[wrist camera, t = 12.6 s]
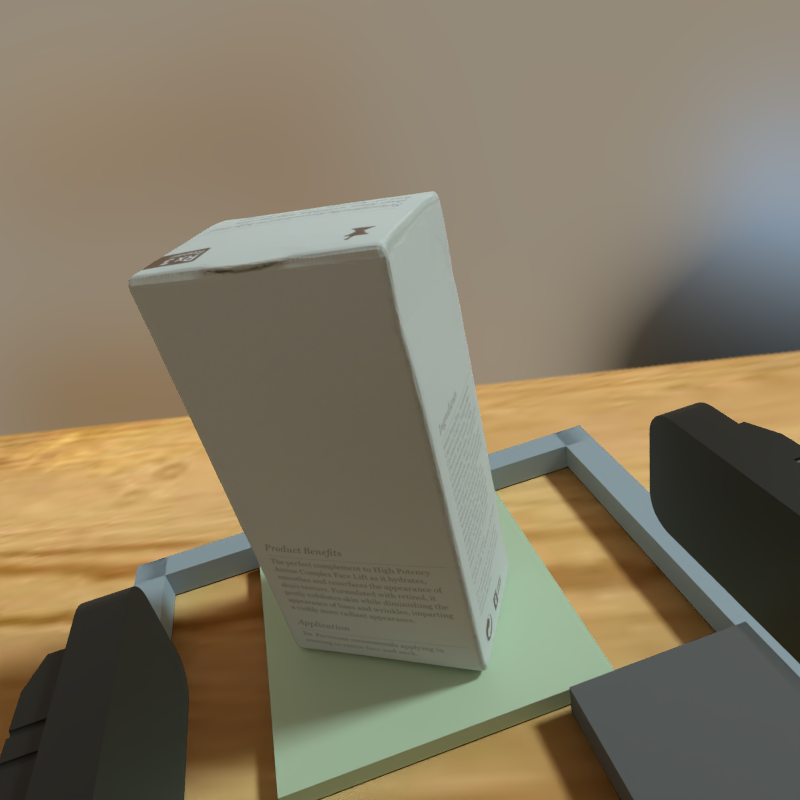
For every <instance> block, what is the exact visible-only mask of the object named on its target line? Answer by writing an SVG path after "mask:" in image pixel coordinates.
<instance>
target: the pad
mask: <svg viewBox="0 0 800 800" xmlns="http://www.w3.org/2000/svg"><path fill="white" fill-rule="evenodd" d="M495 495H496V502H497V506H498V512H499V518H500V524H501V529H502V534H503V539H504V544H505V548H506V552H507V558H508V562H509V567H508V573H507V577H506V583H505V588H504V593H503V598H502V603H501V607H500V612H499V617H498V622H497V627H496V631H495V635H494V640H493V645H492V650H491V655H490V660H489V664H488V667H487V669H486V670H484V671H478V670H470V669H463V668H455V667H447V666H439V665H432V664H425V663H417V662H410V661H403V660H395V659H388V658H380V657H373V656H365V655H357V654H350V653H342V652H334V651H326V650H318V649H310V648H303V647H300V646H298V645H297V644H296V642H295V640H294V638H293V635H292V633H291V631H290V629H289V627H288V625H287V623H286V620H285V618H284V616H283V614H282V612H281V610H280V607H279V605H278V603H277V601H276V599H275V597H274V594H273V592H272V590H271V588H270V586H269V584H268V582H267V579H266V577H265V575H264V573H263V571H262V569H261V567H260V575H261V588H262V601H263V614H264V627H265V640H266V653H267V666H268V678H269V691H270V704H271V717H272V730H273V743H274V756H275V769H276V781H277V794H278V800H318V799H320V798H323V797H326V796H328V795H331V794H334V793H336V792H339V791H342V790H344V789H347V788H349V787H352V786H355V785H357V784H360V783H363V782H365V781H368V780H371V779H373V778H376V777H379V776H381V775H384V774H387V773H389V772H392V771H394V770H397V769H400V768H402V767H405V766H408V765H410V764H413V763H416V762H418V761H421V760H424V759H426V758H429V757H432V756H434V755H437V754H439V753H442V752H445V751H447V750H450V749H453V748H455V747H458V746H461V745H463V744H466V743H469V742H471V741H474V740H477V739H479V738H482V737H484V736H487V735H490V734H492V733H495V732H498V731H500V730H503V729H506V728H508V727H511V726H514V725H516V724H519V723H522V722H524V721H527V720H529V719H532V718H535V717H537V716H540V715H543V714H545V713H548V712H551V711H553V710H556V709H559V708H561V707H564V706H566V705H569V704H571V698H570V689H569V687H571V686H574V685H577V684H579V683H582V682H585V681H587V680H590V679H593V678H595V677H598V676H601V675H603V674H606V673H609V672H611V671H614V668H613V667H612V665H611V664H610V662H609V661H608V659H607V658H606V656H605V655H604V653H603V652H602V650H601V649H600V647H599V646H598V644H597V643H596V641H595V640H594V638H593V637H592V635H591V634H590V632H589V631H588V629H587V628H586V626H585V625H584V623H583V622H582V620H581V619H580V617H579V616H578V614H577V613H576V611H575V610H574V608H573V607H572V605H571V604H570V602H569V601H568V599H567V598H566V596H565V595H564V593H563V592H562V590H561V589H560V587H559V586H558V584H557V583H556V581H555V580H554V578H553V577H552V575H551V574H550V572H549V571H548V569H547V568H546V566H545V565H544V563H543V562H542V560H541V559H540V557H539V556H538V554H537V553H536V551H535V550H534V548H533V547H532V545H531V544H530V542H529V541H528V539H527V538H526V536H525V535H524V533H523V532H522V530H521V529H520V527H519V526H518V524H517V523H516V521H515V520H514V518H513V517H512V515H511V514H510V512H509V511H508V509H507V508H506V506H505V505H504V503H503V502H502V500H501V499H500V497H499V496H498V494H497V493H496V491H495Z"/></svg>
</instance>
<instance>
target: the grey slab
mask: <svg viewBox="0 0 800 800" xmlns="http://www.w3.org/2000/svg"><path fill="white" fill-rule="evenodd" d="M742 624H743V625H742ZM747 624H748V623H747V622H746V623H745V622H742V623H740V624H737V625H734V626H732V627H729V628H726V629H724V630H721V631H718V632H716V633H713V634H710V635H708V636H705V637H702V638H700V639H697V640H694V641H692V642H689V643H686V644H684V645H681V646H678V647H676V648H673V649H670V650H668V651H665V652H662V653H660V654H657V655H654V656H652V657H649V658H646V659H644V660H641V661H638V662H635V663H633V664H630V665H627V666H625V667H622V668H619V669H617V670H614V671H611V672H609V673H606V674H603V675H601V676H598V677H595V678H593V679H590V680H587V681H585V682H582V683H579V684H577V685H574V686H571V687H569V689H570V698H571V708H572V713H573V715H574V716H575V718H576V720H577V722H578V724H579V725H580V727H581V729H582V731H583V733H584V734H585V736H586V738H587V740H588V742H589V743H590V745H591V747H592V749H593V751H594V752H595V754H596V756H597V758H598V760H599V762H600V763H601V765H602V767H603V769H604V771H605V772H606V774H607V776H608V778H609V780H610V781H611V783H612V785H613V787H614V789H615V790H616V792H617V794H618V796H619V798H620V799H621V800H800V677H799V676H798V675H797V674H796V673H795V672H794V671H793V670H792V669H791V668H790V667H789V666H788V665H787V664H786V663H785V662H784V660H783V659H782V658H781V657H780V656H779V655H778V654H777V653H776V652H775V651H773V649H772V648H771V647H770V646H769V645H768V644H767V643H766V642H765V641H764V640H763V639H762V638H761V637H760V636H759V635H758V634H757V633H756V632H755V631H754V630H753V629H752V627H751V626H750V625H747ZM744 627H745V628H744ZM742 632H743V633H742ZM749 636H750V637H749ZM747 637H748V638H747ZM751 637H752V639H751ZM756 638H757V639H756ZM758 639H759V640H758ZM755 644H756V645H755ZM761 645H762V646H761ZM763 646H764V647H763ZM779 657H780V658H779ZM783 662H784V663H783ZM777 665H778V666H777ZM787 667H788V668H787ZM790 670H791V671H790ZM782 672H783V673H782ZM792 673H793V674H792ZM797 678H798V679H797ZM793 680H794V681H793ZM798 683H799V684H798Z"/></svg>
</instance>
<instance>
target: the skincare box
mask: <svg viewBox="0 0 800 800" xmlns="http://www.w3.org/2000/svg"><path fill="white" fill-rule="evenodd" d="M129 289H130V292H131V294H132V296H133V298H134V300H135V302H136V304H137V306H138V308H139V311H140V313H141V314H142V317H143V319H144V321H145V323H146V325H147V327H148V329H149V331H150V333H151V335H152V337H153V339H154V342H155V344H156V346H157V348H158V350H159V352H160V355H161V357H162V359H163V361H164V363H165V365H166V367H167V369H168V371H169V373H170V376H171V378H172V380H173V382H174V384H175V386H176V388H177V390H178V393H179V395H180V397H181V399H182V401H183V403H184V405H185V407H186V409H187V412H188V414H189V416H190V418H191V420H192V422H193V424H194V427H195V429H196V431H197V433H198V435H199V437H200V439H201V441H202V444H203V446H204V448H205V450H206V452H207V454H208V456H209V458H210V461H211V463H212V465H213V467H214V469H215V471H216V473H217V476H218V478H219V480H220V482H221V484H222V486H223V488H224V490H225V492H226V495H227V497H228V499H229V501H230V503H231V505H232V507H233V510H234V512H235V514H236V516H237V518H238V520H239V522H240V525H241V527H242V529H243V531H244V533H245V535H246V537H247V539H248V541H249V543H250V546H251V548H252V550H253V552H254V554H255V556H256V558H257V561H258V563H259V565H260V567H261V569H262V571H263V573H264V575H265V577H266V579H267V582H268V584H269V586H270V588H271V590H272V592H273V594H274V597H275V599H276V601H277V603H278V605H279V607H280V610H281V612H282V614H283V616H284V618H285V620H286V623H287V625H288V627H289V629H290V631H291V633H292V635H293V638H294V640H295V642H296V644H297V645H298V646H300V647H303V648H310V649H318V650H326V651H334V652H342V653H350V654H357V655H365V656H373V657H380V658H388V659H395V660H403V661H410V662H417V663H425V664H432V665H439V666H447V667H455V668H463V669H470V670H478V671H484V670H486V669H487V667H488V664H489V660H490V655H491V650H492V645H493V640H494V635H495V631H496V627H497V622H498V617H499V612H500V607H501V603H502V598H503V593H504V588H505V583H506V577H507V573H508V567H509V562H508V558H507V552H506V548H505V544H504V539H503V534H502V529H501V524H500V518H499V512H498V506H497V502H496V495H495V490H494V485H493V481H492V475H491V469H490V464H489V459H488V453H487V448H486V442H485V437H484V431H483V426H482V421H481V416H480V411H479V405H478V400H477V395H476V390H475V384H474V379H473V374H472V368H471V363H470V357H469V352H468V346H467V342H466V336H465V331H464V326H463V320H462V314H461V308H460V305H459V300H458V295H457V290H456V286H455V281H454V277H453V272H452V266H451V259H450V253H449V247H448V241H447V235H446V230H445V225H444V219H443V214H442V209H441V204H440V201H439V197H438V195H437V194H436V193H435V192H425V193H418V194H412V195H405V196H397V197H390V198H383V199H375V200H368V201H361V202H354V203H347V204H340V205H333V206H326V207H319V208H312V209H306V210H299V211H292V212H285V213H279V214H272V215H265V216H258V217H252V218H245V219H235V220H227V221H223V222H220V223H218V224H215V225H213V226H211V227H210V228H208V229H206V230H205V231H203V232H201V233H200V234H198V235H197V236H195V237H194V238H192V239H191V240H189V241H188V242H186V243H184V244H183V245H181V246H180V247H178V248H176V249H174V250H173V251H171V252H170V253H168V254H166V255H165V256H163V257H162V258H160V259H158V260H157V261H155V262H153V263H152V264H150V265H149V266H147V267H146V268H144V269H143V270H141V271H140V272H138V273H136V274H135V275H133V276H132V277H131V278H130V280H129Z"/></svg>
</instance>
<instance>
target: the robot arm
mask: <svg viewBox="0 0 800 800" xmlns="http://www.w3.org/2000/svg"><path fill="white" fill-rule="evenodd" d="M650 498H651V503H652V506H653V509H654V512H655V514H656V516H657V518H658V520H659V522H660V523H661V525H662V526H663V528H664V529H665V530H666V531H667V532H668V534H669V535H670V536H672V537H673V538H674V539H675V540H676V541H677V542H678V543H679V544H680V545H681V546H682V547H683V548H684V549H685V550H686V551H687V552H688V553H689V554H690V555H691V556H692V557H693V558H694V559H695V560H696V561H697V562H698V563H699V564H700V565H701V566H702V567H703V568H704V569H705V570H706V571H707V572H708V573H709V574H710V575H711V576H712V577H713V578H714V579H715V580H716V581H717V582H718V583H719V584H720V585H721V586H722V587H723V588H724V589H725V590H726V591H727V592H728V593H729V594H730V595H731V596H732V597H733V598H734V599H735V600H736V601H737V602H738V603H739V604H740V605H741V606H742V607H743V608H744V609H745V610H746V611H747V612H748V613H749V614H750V615H751V616H752V617H753V618H754V619H755V620H756V621H757V622H758V623H759V624H760V625H761V626H762V627H763V628H764V629H765V630H766V631H767V632H768V633H769V634H770V635H771V636H772V637H773V638H774V639H775V640H776V641H777V642H778V643H779V644H780V645H781V646H782V647H783V648H784V649H785V650H786V651H787V652H788V653H789V654H790V655H791V656H792V657H793V658H794V659H795V660H796V661H797V662H798V663H799V664H800V445H799V444H797V443H796V442H794V441H792V440H791V439H789V438H788V437H786V436H784V435H783V434H780V433H777V432H774V431H771V430H768V429H765V428H762V427H759V426H755V425H752V424H749V423H746V422H742V423H740V424H738V423H737V422H735V421H734V420H732V419H730V418H729V417H727V416H726V415H724V414H723V413H721V412H720V411H718V410H717V409H715V408H714V407H712V406H710V405H708V404H706V403H701V402H700V403H696V404H693V405H690V406H687V407H684V408H680V409H677V410H674V411H671V412H668V413H665V414H662V415H659V416H656V417H655V418H654V419H653V420H652V422H651V425H650ZM188 705H189V694H188V684H187V679H186V674H185V670H184V667H183V664H182V661H181V659H180V656H179V654H178V652H177V651H176V649H175V647H174V645H173V643H172V642H171V640H170V638H169V636H168V634H167V633H166V631H165V629H164V627H163V625H162V624H161V622H160V620H159V618H158V616H157V615H156V613H155V611H154V609H153V607H152V606H151V604H150V602H149V600H148V598H147V597H146V595H145V593H144V592H143V591H142V590H141V589H140V588H139V587H137V586H134V587H131V588H128V589H125V590H122V591H118V592H115V593H112V594H109V595H106V596H103V597H100V598H97V599H94V600H91V601H88V602H85V603H82V604H80V605H79V606H78V608H77V610H76V612H75V615H74V619H73V623H72V626H71V630H70V634H69V637H68V641H67V645H66V649H63V650H60V651H57V652H54V653H51V654H48V655H47V656H46V658H45V659H44V660H43V662H42V663H41V665H40V666H39V668H38V669H37V670H36V672H35V673H34V675H33V676H32V678H31V679H30V681H29V682H28V683H27V685H26V686H25V688H24V689H23V691H22V692H21V695H20V698H19V701H18V704H17V707H16V710H15V713H14V716H13V719H12V723H11V726H10V729H9V733H10V738H8V739H6V741H5V744H4V747H3V750H2V754H1V757H0V800H184V791H185V769H186V748H187V726H188Z"/></svg>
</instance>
